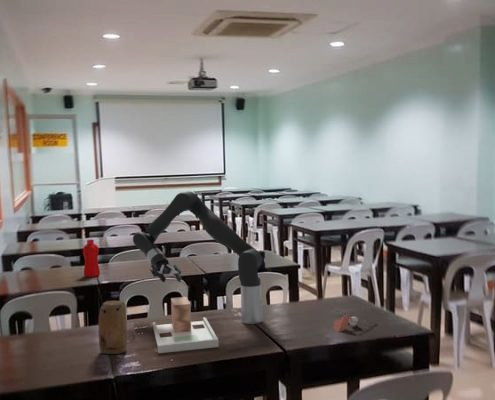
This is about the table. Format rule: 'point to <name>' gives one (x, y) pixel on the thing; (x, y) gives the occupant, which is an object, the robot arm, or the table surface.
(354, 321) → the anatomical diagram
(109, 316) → the block
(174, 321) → the terracotta block
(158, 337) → the box
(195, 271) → the table surface
